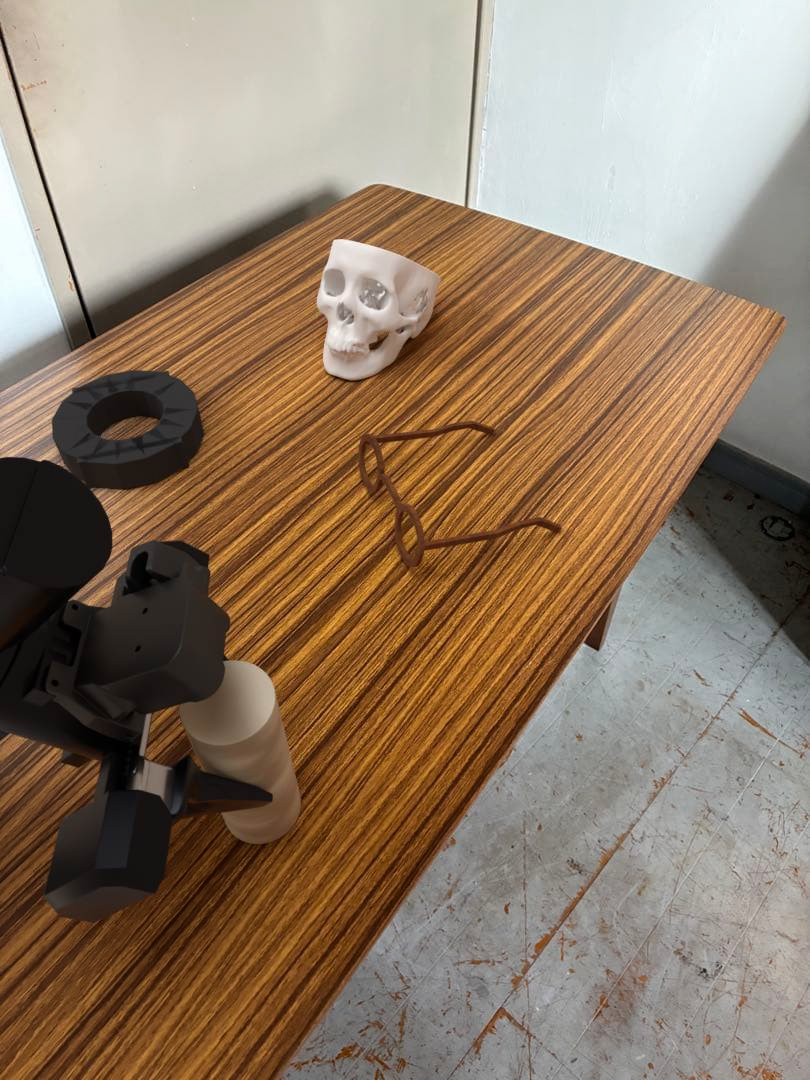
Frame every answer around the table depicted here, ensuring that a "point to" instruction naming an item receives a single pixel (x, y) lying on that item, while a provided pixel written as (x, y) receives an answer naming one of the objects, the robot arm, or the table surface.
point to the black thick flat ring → (134, 456)
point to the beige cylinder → (246, 749)
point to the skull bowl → (371, 306)
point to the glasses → (411, 511)
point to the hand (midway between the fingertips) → (271, 757)
